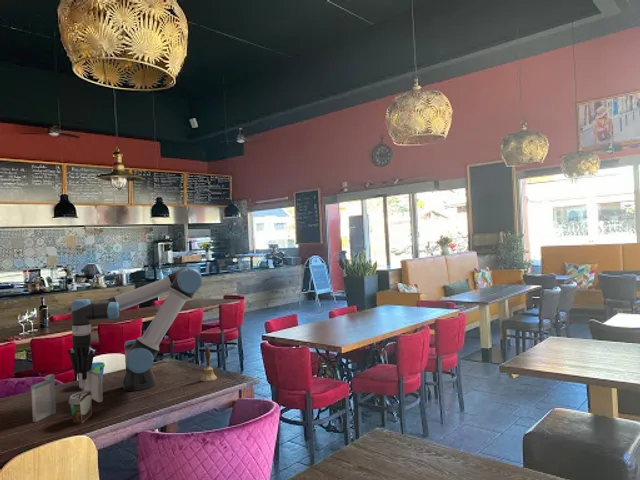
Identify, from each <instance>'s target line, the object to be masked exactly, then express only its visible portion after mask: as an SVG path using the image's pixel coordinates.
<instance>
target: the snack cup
mask: <svg viewBox="0 0 640 480" xmlns="http://www.w3.org/2000/svg"><path fill="white" fill-rule="evenodd" d="M105 366H106V365H105V362H103V361H102V362H100V361H96V362H92V367H91V368H92V369H95V370H97V371H100V372H102V381H103V379H104V378H103V377H104V369H105Z"/></svg>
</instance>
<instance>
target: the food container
mask: <svg viewBox="0 0 640 480" xmlns="http://www.w3.org/2000/svg"><path fill="white" fill-rule="evenodd" d="M91 395H92V391H91V390H87V391H82V390H81V391H79V392H75V393H73V394H71V395H70V396H69V398H68V404H70V410H71V416H72V423H73V424H76V425H77V424H83V423H84V422H85V421H87V420H88V419H89V418H90V417H91V416H92V398H91Z"/></svg>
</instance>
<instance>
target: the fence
mask: <svg viewBox="0 0 640 480" xmlns="http://www.w3.org/2000/svg"><path fill="white" fill-rule="evenodd" d="M55 376H56V375H55V374H47V375H45V376H44V381H41V382H38V383H36V384H33V385H31V386H30V391H31V408H32V422H35V423H36V422H39V421H41V420H43V419H44V418H47V417H49V416H51V415H54V414H56V413H57V402H56V401H57V399H56V377H55ZM82 391H84V387H82V388H81V392H82Z"/></svg>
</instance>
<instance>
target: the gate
mask: <svg viewBox="0 0 640 480" xmlns="http://www.w3.org/2000/svg"><path fill="white" fill-rule="evenodd" d="M87 390H91V391H92V395H91V400H93V401H95V402H97V403H102V402H103V401H104V400H103V398H104V397H103V380H102V372H100V371H97V370H95V369H92V368H91V370H89V371H87V379H86V386H85V387H84V391H87Z"/></svg>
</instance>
